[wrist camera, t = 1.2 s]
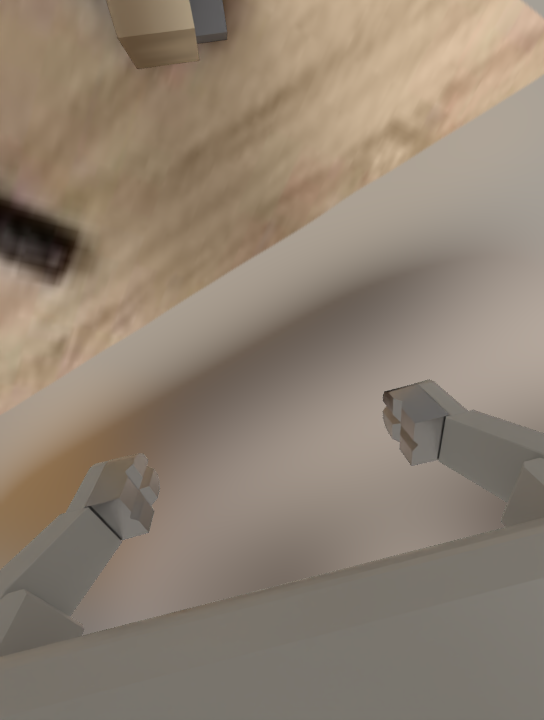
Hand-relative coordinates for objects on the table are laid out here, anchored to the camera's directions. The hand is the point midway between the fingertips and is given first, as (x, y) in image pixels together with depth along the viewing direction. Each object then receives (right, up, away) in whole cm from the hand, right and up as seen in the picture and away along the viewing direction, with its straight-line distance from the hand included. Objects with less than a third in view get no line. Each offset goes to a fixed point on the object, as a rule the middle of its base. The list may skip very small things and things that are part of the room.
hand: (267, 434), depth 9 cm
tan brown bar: (-5, +23, -4) cm, 24 cm away
